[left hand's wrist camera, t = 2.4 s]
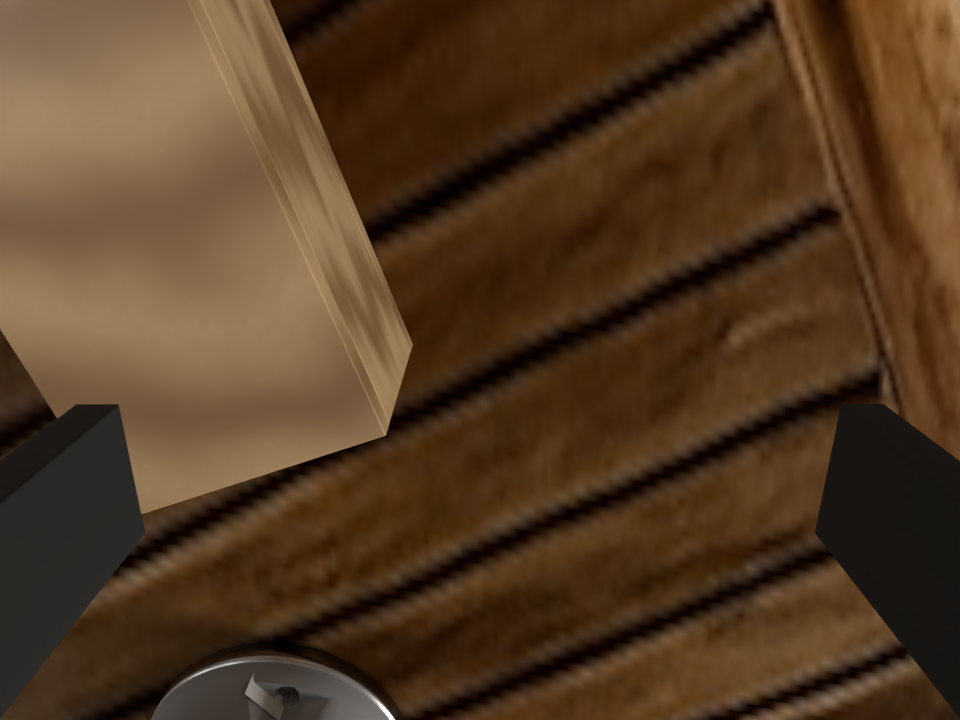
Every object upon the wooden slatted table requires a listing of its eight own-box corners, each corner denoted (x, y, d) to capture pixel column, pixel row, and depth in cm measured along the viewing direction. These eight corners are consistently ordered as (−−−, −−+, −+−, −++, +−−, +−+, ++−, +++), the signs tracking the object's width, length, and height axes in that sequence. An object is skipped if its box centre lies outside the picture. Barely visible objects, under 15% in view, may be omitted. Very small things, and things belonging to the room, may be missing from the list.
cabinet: (-32, -44, 27) (-284, -113, 18) (206, -152, 25) (60, -284, 17) (216, 411, 33) (121, 521, 25) (413, 344, 32) (386, 436, 23)
